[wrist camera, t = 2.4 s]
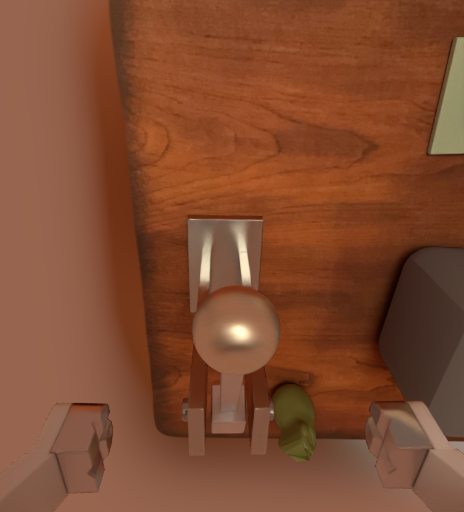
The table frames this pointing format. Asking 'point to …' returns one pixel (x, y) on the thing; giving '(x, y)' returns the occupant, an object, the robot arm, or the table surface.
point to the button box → (450, 106)
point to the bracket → (204, 283)
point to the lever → (234, 347)
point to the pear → (295, 421)
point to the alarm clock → (429, 335)
